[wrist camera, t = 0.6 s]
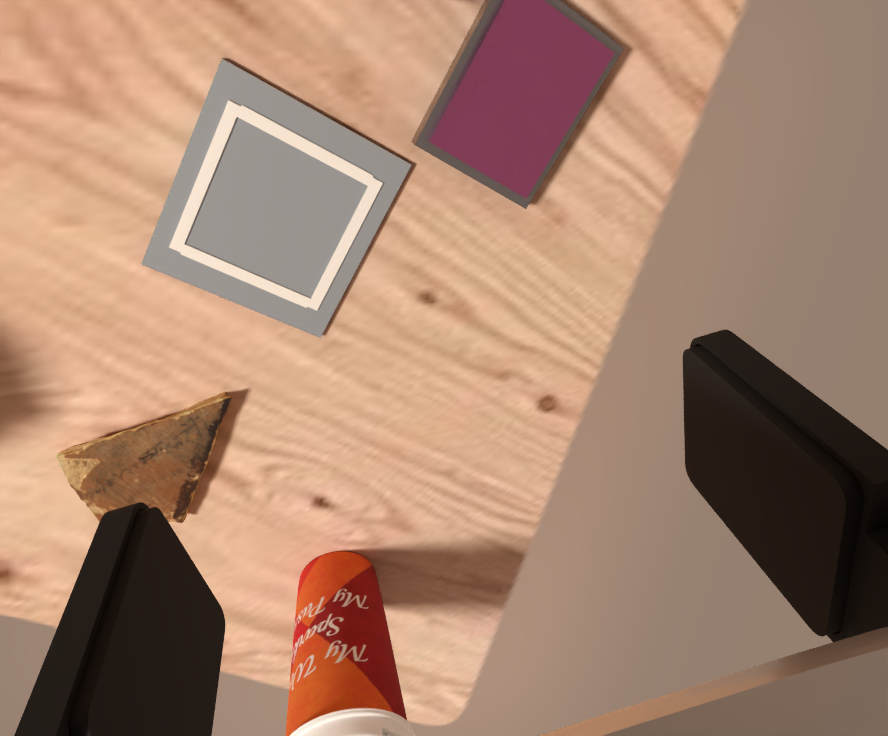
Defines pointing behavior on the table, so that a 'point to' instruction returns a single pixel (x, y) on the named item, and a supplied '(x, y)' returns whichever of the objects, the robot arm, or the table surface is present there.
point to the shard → (147, 462)
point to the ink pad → (516, 93)
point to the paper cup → (343, 654)
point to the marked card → (272, 203)
